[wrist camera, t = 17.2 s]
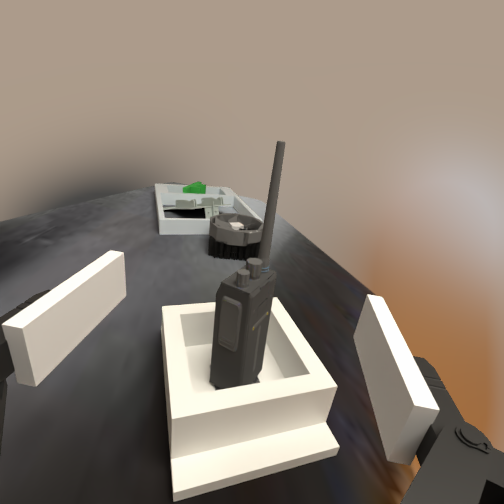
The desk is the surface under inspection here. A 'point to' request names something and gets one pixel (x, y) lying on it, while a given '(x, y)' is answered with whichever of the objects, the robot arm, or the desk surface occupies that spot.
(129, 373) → the desk surface
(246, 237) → the cpu cooler
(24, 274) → the desk surface
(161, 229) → the desk organiser
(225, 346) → the walkie-talkie
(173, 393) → the charging cradle
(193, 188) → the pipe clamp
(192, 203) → the metal bracket
